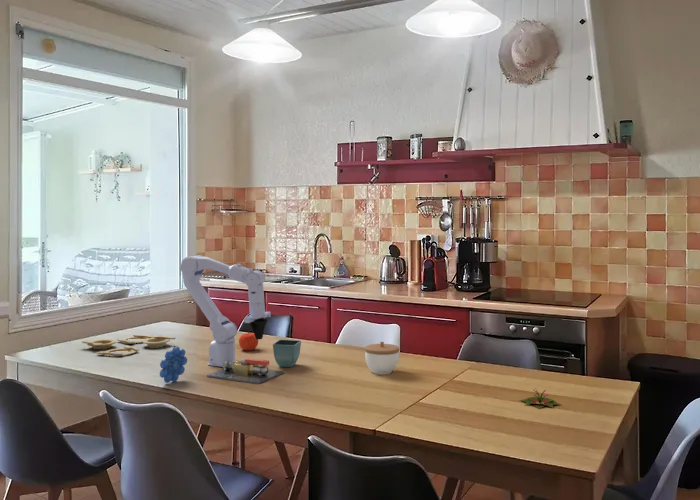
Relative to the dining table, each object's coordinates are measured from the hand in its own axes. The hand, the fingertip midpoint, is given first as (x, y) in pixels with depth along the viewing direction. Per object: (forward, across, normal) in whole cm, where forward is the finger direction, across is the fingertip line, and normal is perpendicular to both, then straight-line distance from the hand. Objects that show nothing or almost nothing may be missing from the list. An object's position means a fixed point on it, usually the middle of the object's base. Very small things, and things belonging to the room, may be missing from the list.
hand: (259, 339), depth 235 cm
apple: (+10, +22, +21) cm, 32 cm away
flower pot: (+11, +6, -8) cm, 15 cm away
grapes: (+9, -30, +16) cm, 36 cm away
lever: (+7, -12, -5) cm, 15 cm away
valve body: (+10, -13, -2) cm, 16 cm away
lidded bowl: (+13, +12, -44) cm, 48 cm away
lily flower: (+17, 0, -102) cm, 103 cm away
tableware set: (+7, +4, +71) cm, 71 cm away
